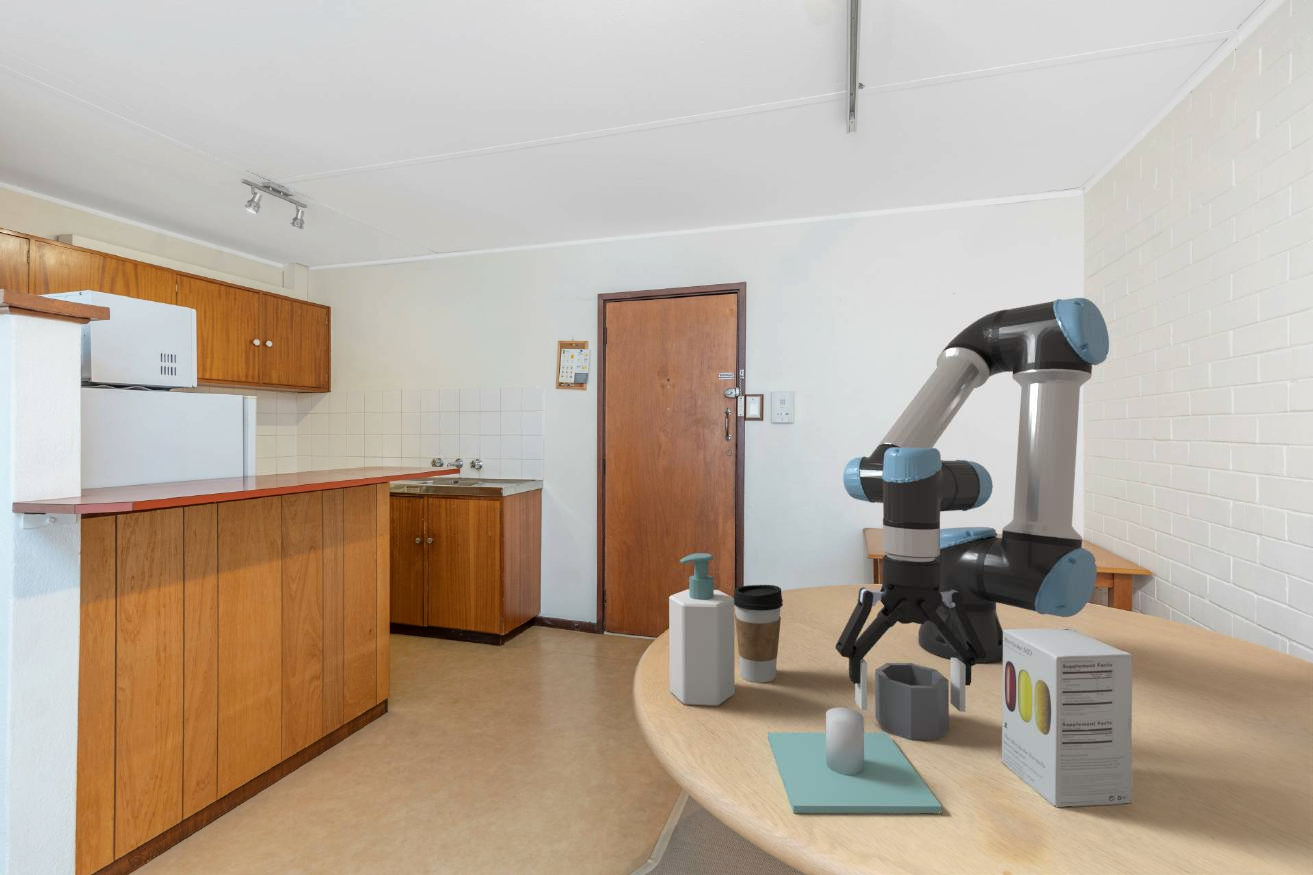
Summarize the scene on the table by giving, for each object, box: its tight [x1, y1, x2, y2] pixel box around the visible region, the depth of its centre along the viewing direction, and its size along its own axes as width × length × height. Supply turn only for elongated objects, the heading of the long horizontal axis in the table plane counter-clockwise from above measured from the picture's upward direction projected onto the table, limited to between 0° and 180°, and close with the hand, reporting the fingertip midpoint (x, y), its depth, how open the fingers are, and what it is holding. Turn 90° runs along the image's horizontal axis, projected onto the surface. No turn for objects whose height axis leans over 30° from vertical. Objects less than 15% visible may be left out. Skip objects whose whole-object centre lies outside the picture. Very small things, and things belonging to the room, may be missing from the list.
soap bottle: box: [668, 552, 736, 707], centre depth 95 cm, size 10×9×22 cm
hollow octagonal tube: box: [874, 662, 950, 741], centre depth 84 cm, size 9×9×7 cm
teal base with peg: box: [767, 707, 943, 815], centre depth 72 cm, size 16×16×7 cm
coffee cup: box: [732, 584, 784, 684], centre depth 101 cm, size 8×8×15 cm
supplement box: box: [1001, 627, 1133, 808], centre depth 70 cm, size 10×9×17 cm
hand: (909, 706), depth 84 cm, fingers open, 13 cm apart
